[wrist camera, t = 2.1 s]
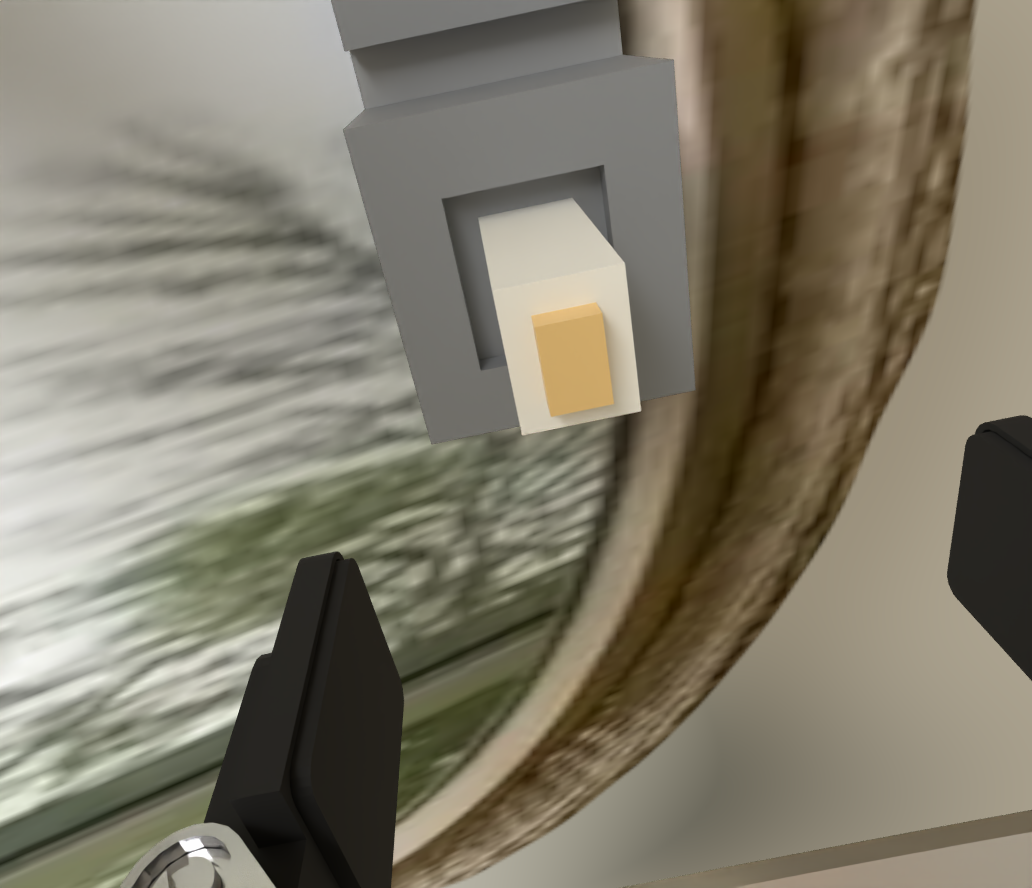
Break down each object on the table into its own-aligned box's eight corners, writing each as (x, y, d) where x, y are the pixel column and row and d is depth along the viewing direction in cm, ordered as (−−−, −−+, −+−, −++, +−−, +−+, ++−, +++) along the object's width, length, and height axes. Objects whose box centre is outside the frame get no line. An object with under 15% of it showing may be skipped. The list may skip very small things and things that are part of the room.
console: (246, -355, 22) (155, -536, 15) (568, -427, 22) (627, -642, 15) (433, 360, 34) (431, 444, 27) (643, 317, 34) (695, 390, 27)
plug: (477, 217, 24) (493, 301, 16) (572, 197, 24) (632, 272, 16) (500, 329, 26) (525, 450, 18) (588, 311, 26) (648, 425, 18)
